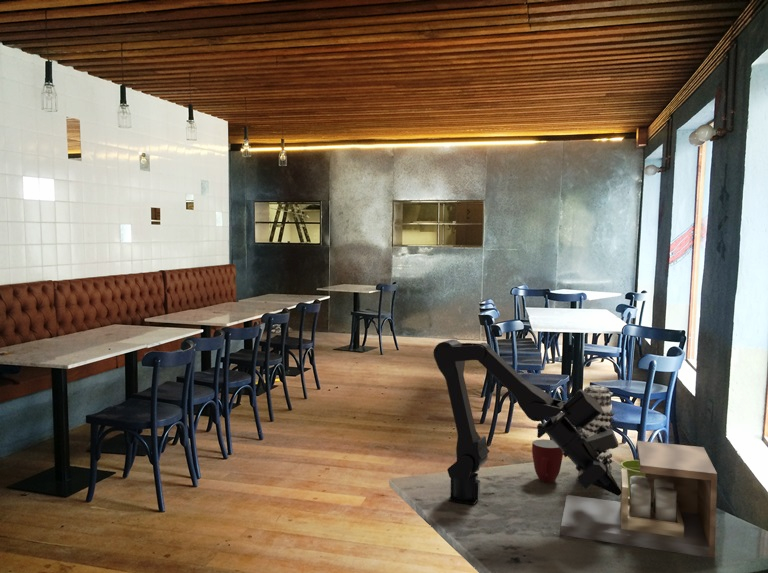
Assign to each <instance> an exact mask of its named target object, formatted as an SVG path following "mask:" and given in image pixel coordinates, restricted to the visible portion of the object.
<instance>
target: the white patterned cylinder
mask: <svg viewBox="0 0 768 573" xmlns="http://www.w3.org/2000/svg"><path fill="white" fill-rule="evenodd" d="M582 390H583V391H584V392H585V393H587V394H588V395H590V396H591V397H592V398H594V399H595V400H596V401H597V402H598V403H599V405H600V406H601V408H602V410H603V413H602V414H600V415H599V416H598V417H597V418H595V419H594V420H593V421H592V422H591V423H589V424H588V425H587V426H586V427H584V428H582V427H580V428H579V430H578V431H579V432H580V433H583V434H584V433H585V434H586V435H587V436H588V437H590V436H593V435H594V434H597V428H598V427H599V426H602V425H604V426H605V427H606V428H607V429H610V428H611V429H612V430H613V429H614V426H613V425H612V424H611V423H613V422H614V421H615V420H614V418H613V416H614V415H615V413H614V412H613V411H612V409H613V408H612V407H613V404H612V395H613V394H614V393H613V392H611V391H610V389H609V388H608V387H606V386H604V385H597V384H596V385H595V384H593V385H592V384H591V385H587V386H585V387H584V389H582ZM611 451H612V449H608V450H607V452H606V453H603V452H602V453H601V454H600V455H599V456H598V459H601V460H602V461H603V460H604V459H605V458H607V457H608V470H609V471H610V473H611V475H612V474H613V472H612V470H613V469H612V468H613V466H612V465H611V464H612V463H613V460H612V459H611V458H613V453H612V452H611ZM580 471H581V470H580ZM612 476H613V475H612Z"/></svg>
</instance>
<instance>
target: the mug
mask: <svg viewBox="0 0 768 573" xmlns="http://www.w3.org/2000/svg"><path fill="white" fill-rule="evenodd" d="M531 455H532V460H533V466H534V471H535V473H536V474H535V475H537V478H538V479H539V481H541V483H546V484H547V483H548V484H549V483H554V482H556V479H557V478H558V476H559V474H560V471H561V466H562V460H563V456H564V455H563V451H562V450H561V449H560V448H559V446H558V445H557V444H556V443H555V442H554V441H553V440H552V439H543V438H542V439H535V440H532V444H531Z"/></svg>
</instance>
